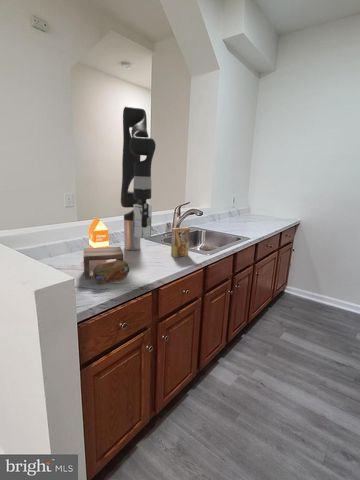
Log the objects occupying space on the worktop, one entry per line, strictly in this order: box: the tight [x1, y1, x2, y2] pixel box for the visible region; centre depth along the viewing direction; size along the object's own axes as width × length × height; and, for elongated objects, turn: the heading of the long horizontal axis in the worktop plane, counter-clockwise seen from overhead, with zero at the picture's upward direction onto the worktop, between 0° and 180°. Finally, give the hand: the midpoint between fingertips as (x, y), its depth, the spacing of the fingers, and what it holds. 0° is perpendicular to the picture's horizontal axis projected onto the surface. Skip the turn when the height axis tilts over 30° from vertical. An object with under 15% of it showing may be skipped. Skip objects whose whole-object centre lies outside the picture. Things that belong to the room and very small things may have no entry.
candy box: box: [170, 226, 190, 258], centre depth 149 cm, size 9×4×15 cm, turn 119°
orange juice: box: [87, 217, 110, 248], centre depth 143 cm, size 8×9×20 cm
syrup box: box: [132, 203, 153, 239], centre depth 120 cm, size 6×6×14 cm
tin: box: [92, 259, 130, 285], centre depth 113 cm, size 15×3×8 cm, turn 126°
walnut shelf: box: [83, 246, 124, 280], centre depth 121 cm, size 12×16×10 cm
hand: (142, 225), depth 120 cm, fingers closed on syrup box, 7 cm apart
